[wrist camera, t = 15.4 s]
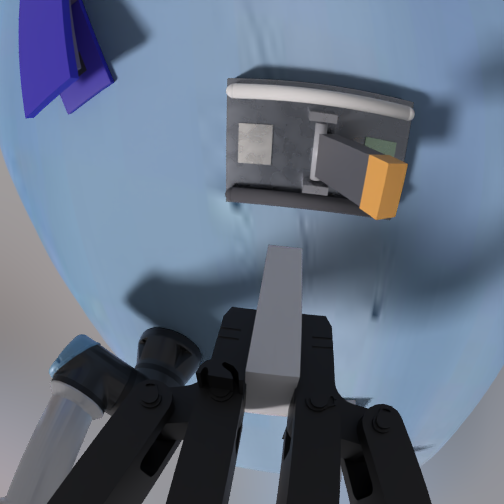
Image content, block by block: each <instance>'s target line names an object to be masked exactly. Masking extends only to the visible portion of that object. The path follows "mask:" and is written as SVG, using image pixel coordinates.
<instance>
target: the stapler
mask: <svg viewBox="0 0 504 504" xmlns="http://www.w3.org/2000/svg"><path fill="white" fill-rule="evenodd" d="M19 62H20V76H21V87H22V96H23V104H24V111H25V117H26V118H34V117H35V116H36V115H37V114H38V113H39V112H40V111H41V110H42V109H44V108H45V107H46V106H47V105H48V104H49V103H50V102H51V101H52V100H54V99H55V98H56V97H57V96H58V95H59V94H60V96H61V98H62V101H63V103H64V106H65V108H66V110H67V113H68V114H71V113H73V112H74V111H75V110H77V109H78V108H79V107H81V106H82V105H83V104H85V103H86V102H87V101H89V100H90V99H91V98H93V97H94V96H95V95H97V94H98V93H99V92H101V91H102V90H104V89H105V88H107V87H108V86H110V85H111V84H112V83H114V80H113V78H112V75H111V73H110V71H109V68H108V66H107V63H106V61H105V59H104V56H103V54H102V51H101V49H100V46H99V44H98V41H97V39H96V36H95V34H94V31H93V28H92V26H91V23H90V21H89V18H88V15H87V13H86V10H85V7H84V4H83V2H82V0H20V8H19Z"/></svg>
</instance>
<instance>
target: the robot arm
mask: <svg viewBox="0 0 504 504" xmlns="http://www.w3.org/2000/svg"><path fill="white" fill-rule="evenodd" d="M200 362H201V353H200V351H199V349H198V348H197V346H196V345H195V344H194V343H193V342H192V341H191V340H189V339H188V338H186V337H185V336H183V335H181V334H179V333H177V332H174V331H172V330H168V329H163V328H152V329H148V330H146V331H145V332H144V333H143V334H142V336H141V338H140V340H139V343H138V353H137V364H136V366H135V369H134V368H133V367H131V366H130V365H128V364H127V363H125V362H124V361H122V360H121V359H119V358H118V357H117V356H115V355H114V354H112V353H111V352H109V351H108V350H107V349H105V348H104V347H102V346H101V345H100V343H98V342H95V341H94V340H92V339H91V338H89V337H88V336H86V335H82V334H81V335H78V336H76V337H75V338H74V339H73V340H72V341H71V342H70V343H69V344H68V345H67V346H66V347H65V349H64V350H63V351H62V352H61V354H60V355H59V356H58V358H57V359H56V360H55V361H54V363H53V364H52V366H51V368H50V369H49V374H50V375H51V377H52V378H53V379H52V381H51V382H50V388H51V391H52V394H53V395H52V397H51V399H50V401H49V403H48V405H47V407H46V409H45V411H44V413H43V415H42V417H41V418H40V420H39V422H38V425H37V427H36V429H35V431H34V433H33V435H32V437H31V439H30V441H29V443H28V446H27V448H26V450H25V452H24V454H23V456H22V459H21V461H20V464H19V466H18V468H17V470H16V473H15V475H14V478H13V480H12V483H11V485H10V488H9V490H8V493H7V496H6V497H3V498H0V504H142V502H143V501H144V499H145V498H146V496H147V495H148V493H149V491H150V490H151V489H152V487H153V485H154V484H155V482H156V481H157V479H158V478H159V476H160V474H161V473H162V471H163V469H164V468H165V466H166V465H167V463H168V461H169V460H170V458H171V457H172V455H173V454H174V452H175V450H176V449H177V447H178V446H179V444H180V442H181V440H183V444H182V448H181V451H180V455H179V458H178V462H177V465H176V469H175V472H174V476H173V480H172V483H171V487H170V491H169V494H168V498H167V502H166V504H228V501H229V496H230V491H231V486H232V480H233V475H234V470H235V465H236V459H237V454H238V448H239V443H240V437H241V432H242V422H243V416H244V412H248V413H256V414H264V415H273V416H284V417H287V415H288V419H287V427H286V429H285V432H284V435H283V438H282V439H284V444H283V453H282V462H281V470H280V479H279V486H278V494H277V501H276V504H339V497H340V495H339V494H340V468H342V472H343V476H344V480H345V484H346V488H347V492H348V496H349V501H350V504H432V503H431V500H430V497H429V494H428V490H427V487H426V484H425V481H424V478H423V475H422V472H421V469H420V466H419V463H418V461H417V458H416V455H415V452H414V449H413V447H412V444H411V441H410V438H409V436H408V433H407V430H406V428H405V425H404V423H403V420H402V418H401V416H400V414H399V413H398V411H397V410H396V409H394V408H393V407H392V406H389V405H385V404H377V405H374V406H372V407H370V408H369V409H367V408H364V407H361V406H358V405H355V404H352V403H350V402H348V401H346V400H345V399H343V398H342V397H341V396H340V394H339V393H338V391H337V389H336V386H335V375H334V355H333V340H332V326H331V325H330V323H329V321H328V320H327V318H326V316H318V315H307V314H302V248H295V247H285V246H276V245H268V250H267V255H266V261H265V267H264V272H263V278H262V284H261V289H260V295H259V301H258V306H257V310H253V309H245V308H237V307H231V309H230V310H229V311H228V312H227V313H226V314H225V315H224V317H223V320H222V324H221V328H220V331H219V334H218V338H217V341H216V344H215V348H214V351H213V355H212V358H211V359H210V360H207V361H205V362H204V363H203V364H201V365H200ZM199 365H200V366H199ZM198 367H199V368H198ZM197 369H198V370H197ZM195 372H196V377H197V381H198V382H197V383H194V384H192V385H188V386H185V384H186V383H187V382H188V380H189V379H190V378H191V377H192V376H193V374H194V373H195ZM104 412H106V413H108V414H109V415H111V416H112V417H111V418H110V419H109V420H108V422H107V423H106V424H105V426H104V427H103V428H102V430H101V431H100V432H99V434H98V435H97V437H96V438H95V439H94V440H93V442H92V443H91V444H90V446H89V447H88V448H87V450H86V451H85V452H84V454H83V455H82V456H81V458H80V459H79V460H78V462H77V463H76V465H75V466H74V467H73V465H74V462H75V460H76V457H77V455H78V452H79V450H80V447H81V445H82V443H83V440H84V438H85V435H86V433H87V431H88V428H89V426H90V424H91V421H92V420H95V419H99V418H102V417H103V414H104ZM72 467H73V469H72Z"/></svg>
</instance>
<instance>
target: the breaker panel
mask: <svg viewBox="0 0 504 504" xmlns="http://www.w3.org/2000/svg"><path fill="white" fill-rule="evenodd" d="M233 83H242V84H268V85H283V86H295V87H305V88H314V89H322V90H329V91H336V92H342V93H349V94H354V95H360V96H365V97H370V98H375V99H380V100H385V101H389V102H393V103H398V104H402V105H406V106H409V107H411V108H412V109H413V104H414V103H413V102H410V101H406V100H402V99H398V98H394V97H390V96H386V95H381V94H376V93H372V92H367V91H361V90H356V89H350V88H344V87H338V86H331V85H324V84H316V83H307V82H298V81H286V80H272V79H249V78H228V80H227V87H228V86H229V85H230V84H233ZM316 122H319V123H325V124H328V128H327V134H337V135H340V136H343V137H345V138H348V139H350V140H353V141H355V142H357V143H360V144H362V145H365V146H367V147H369V148H372V149H374V150H376V151H378V152H381V153H383V154H385V155H390V156H392V157H394V158H397V159H399V160H401V161H403V162H404V159H405V154H406V148H407V143H408V137H409V131H410V125H411V120H410V121H406V120H402V119H398V118H393V117H389V116H384V115H380V114H375V113H370V112H364V111H359V110H353V109H347V108H341V107H334V106H327V105H319V104H311V103H302V102H291V101H280V100H265V99H242V98H231V97H229V96H228V95H227V136H226V190H227V189H228V188H230V187H238V188H250V189H262V190H273V191H283V192H293V193H302V194H311V195H320V196H328V197H336V198H343V199H348V198H347V197H345V196H344V195H342V194H341V193H339V192H338V191H336V190H335V189H333V188H332V187H330V186H328V185H327V184H325V183H324V182H322V181H314V180H311V179H310V172H311V163H312V154H313V144H314V134H315V124H316ZM226 202H234V201H229V200H228V199H227V198H226ZM238 203H246V202H238ZM249 204H257V203H249ZM260 205H268V204H260ZM271 206H278V205H271ZM281 207H288V206H281ZM291 208H297V207H291ZM300 209H306V208H300ZM309 210H315V209H309ZM318 211H323V210H318ZM326 212H332V211H326ZM334 213H340V212H334ZM342 214H347V213H342ZM350 215H355V214H350ZM357 216H362V215H357ZM365 217H370V216H365ZM372 218H373V217H372ZM390 219H391V218H390ZM390 219H386V220H390Z"/></svg>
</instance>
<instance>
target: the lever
mask: <svg viewBox="0 0 504 504" xmlns="http://www.w3.org/2000/svg"><path fill="white" fill-rule="evenodd" d="M327 128H328V124H325V123H319V122H316V124H315V134H314V144H313V154H312V163H311V172H310V179H311V180H314V181H322V182H324V183H325V184H327V185H328V186H330V187H332V188H333V189H335V190H336V191H338V192H339V193H341V194H342V195H344V196H345V197H347V198H348V199H349V200H351V201H352V202H354V203H355V204H357V205H358V206H360V207H359V208H360V209H361V210H363V211H364V212H366V213H367V214H368V215H370V216H371V217H373V218H374V219H375V220H379V219H385V218H392V217H395V216H396V212H397V208H398V204H399V200H400V196H401V192H402V188H403V184H404V180H405V175H406V170H407V166H408V164H407V163H405V162H403V161H401V160H399V159H397V158H394V157H392V156H390V155H385V154H383V153H381V152H378V151H376V150H374V149H372V148H369V147H367V146H365V145H362V144H360V143H357V142H355V141H353V140H350V139H348V138H345V137H343V136H340V135H337V134H327Z"/></svg>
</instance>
